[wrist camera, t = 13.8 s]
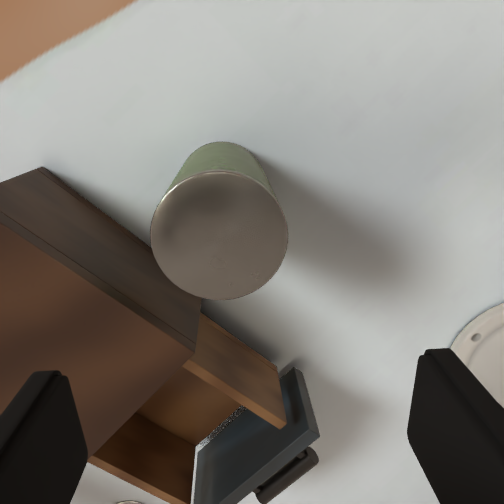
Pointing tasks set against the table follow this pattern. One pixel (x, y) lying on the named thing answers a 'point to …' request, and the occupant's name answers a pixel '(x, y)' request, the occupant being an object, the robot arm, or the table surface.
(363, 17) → the table surface
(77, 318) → the cabinet
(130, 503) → the chess piece
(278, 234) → the tin can
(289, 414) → the drawer
